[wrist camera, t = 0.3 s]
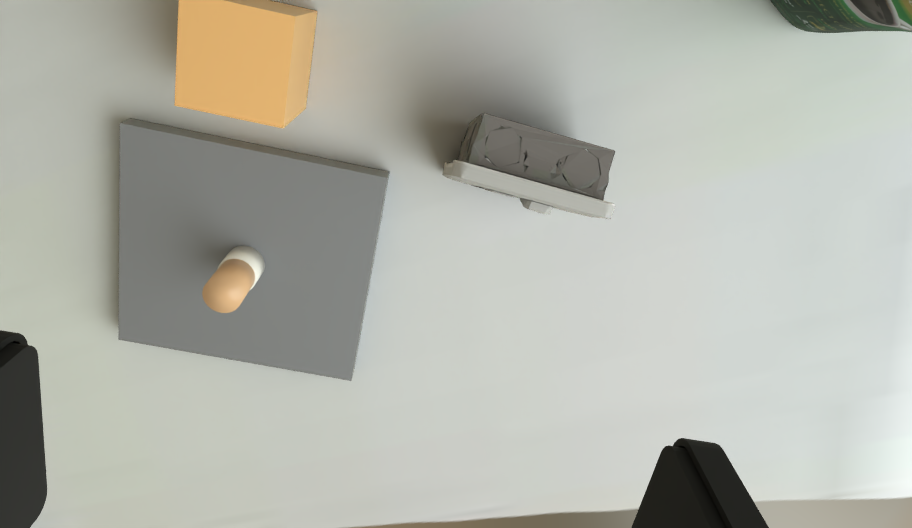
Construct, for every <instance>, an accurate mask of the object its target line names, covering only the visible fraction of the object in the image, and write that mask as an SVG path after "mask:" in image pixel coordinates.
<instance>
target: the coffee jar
mask: <svg viewBox="0 0 912 528" xmlns="http://www.w3.org/2000/svg"><path fill="white" fill-rule="evenodd" d="M771 2H772V3H773V4H774V6H775V7H776V8H777V9H778V10H779V12H780V13H781V14H782V15H783V16H784V17H785V18H786V19H787V20H788V21H789V22H790V23H791V24H792V25H793V26H795V27H796V28H799V29H801V30H804V31H808V32H818V33H841V32H855V31H906V32H912V0H771Z"/></svg>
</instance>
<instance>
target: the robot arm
mask: <svg viewBox="0 0 912 528" xmlns="http://www.w3.org/2000/svg"><path fill="white" fill-rule="evenodd" d="M46 496H47V481H46V466H45V451H44V437H43V422H42V407H41V392H40V378H39V363H38V354H37V350H36V349H35V347H33V346H29V345H28V344H27V340H26V339H25V337H24V336H23V335H21V334H19V333H13V332H7V331H0V528H30V527H31V525H32V524H33V523H34V522H35V520H36V519H37V518H38V516H39V515H40V513H41V511H42V509H43V506H44V504H45V501H46ZM632 528H769V527H768V526H767V524H766V522H765V521H764V519H763V517H762V515H761V514H760V512H759V510H758V509H757V507H756V505H755V503H754V502H753V500H752V498H751V497H750V495H749V493H748V492H747V490H746V488H745V486H744V485H743V483H742V481H741V480H740V478H739V476H738V474H737V473H736V471H735V469H734V468H733V466H732V464H731V463H730V461H729V459H728V457H727V456H726V454H725V452H724V451H723V449H722V448H721V447H720V446H719V445H718V444H715V443H710V442H704V441H697V440H691V439H685V438H681V439H678V440H677V441H676V442H675V443H674V445H673V446H666V447H665V448H664V449H663V450H662V452H661V454H660V457H659V459H658V462H657V464H656V467H655V469H654V472H653V474H652V477H651V480H650V482H649V485H648V487H647V490H646V492H645V495H644V497H643V500H642V502H641V505H640V507H639V510H638V513H637V515H636V518H635V520H634V523H633V525H632Z"/></svg>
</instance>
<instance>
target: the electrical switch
mask: <svg viewBox="0 0 912 528" xmlns="http://www.w3.org/2000/svg"><path fill="white" fill-rule="evenodd" d="M481 117H482V114H480V115H479V116H478V117H477V118H475V119H474V120H473V121H471V122H470V123H469V125H468V129H467V132H466V135H465V138H464V141H463V142H461V150H460V154H459V158H458V160H454V161H452V162H453V163H447V162H445V164H444V170H443V175H444V176H445V177H447V178H450V179H452V180H456V181H459V182H463V183H466V184H470V185H472V186H476V187H479V188H483V189H485V190H488V191H491V192H495V193H499V194H503V195H506V196H511V197H517V198H520V200H521V202H522V204H523V206H524V207H525V208H527V209H529V210H532V211H536V212H539V213H542V214H550V213H551V210H552V207H553V208H557V209H560V210H564V211H568V212H572V213H576V214H581V215H585V216H589V217H597V218H606V219H611V217H612V214H613V211H614V209H615V205H614V203H610V202H606V201H603V199H604V194H605V190H606V187H607V185H608V180H609V170H610V167H611V163H612V160H613V157H614V153H615V151H614V150H611V149H607V148H604V147H600V146H597V145H593V144H590V143H586V142H583V141H579V140H576V139H572V138H569V137H565V136H562V135H559V134H555V133H552V132H548V131H545V130H541V129H538V128H534V127H531V126H527V125H524V124H520V123H517V122H513V121H510V120H506V119H503V118H499V117H496V116H492V115H489V114H485V113H484V114H483V118H482V121H481ZM480 122H481V125H480ZM479 126H480V127H479ZM501 126H502V127H501ZM519 136H520V137H519ZM585 149H587V150H588V151H589V152H588V151H587V150H585Z"/></svg>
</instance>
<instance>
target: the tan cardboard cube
mask: <svg viewBox="0 0 912 528" xmlns="http://www.w3.org/2000/svg"><path fill="white" fill-rule="evenodd" d="M316 19H317V11H315V10H311V9H306V8H302V7H297V6H293V5H289V4H284V3H280V2H275V1H271V0H179V8H178V33H177V58H176V83H175V106H179V107H184V108H188V109H193V110H198V111H203V112H207V113H212V114H217V115H222V116H227V117H231V118H236V119H241V120H246V121H250V122H255V123H260V124H265V125H269V126H274V127H279V128H284V127H286V126H287V125H288V124H289V123H290V122H291V121H292V120H293V119H295V118H296V117H297V116H298V115H299V114H300V113H301V112H302V111H304V110H305V109H306V102H307V94H308V85H309V77H310V69H311V61H312V52H313V44H314V36H315V27H316Z"/></svg>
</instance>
